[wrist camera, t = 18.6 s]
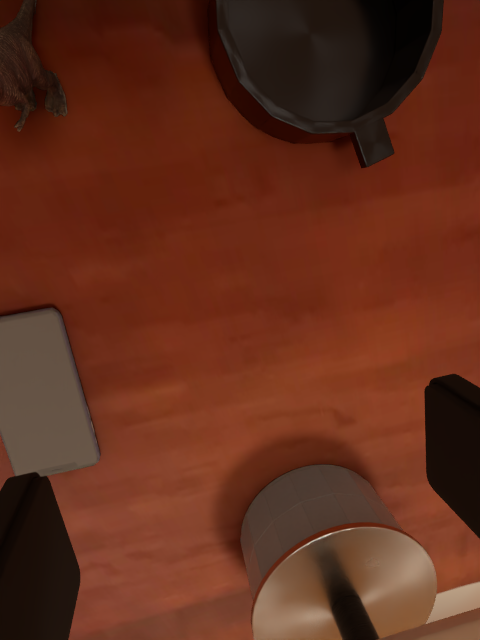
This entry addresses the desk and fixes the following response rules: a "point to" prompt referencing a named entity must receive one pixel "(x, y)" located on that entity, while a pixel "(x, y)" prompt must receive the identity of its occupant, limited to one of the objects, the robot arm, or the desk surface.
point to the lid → (346, 586)
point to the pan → (323, 65)
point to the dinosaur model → (26, 69)
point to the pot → (304, 513)
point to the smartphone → (42, 397)
